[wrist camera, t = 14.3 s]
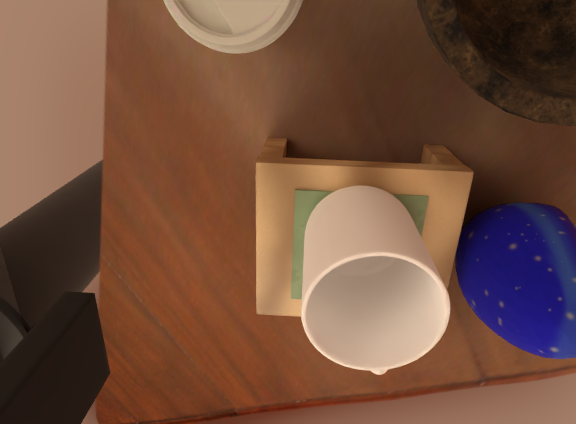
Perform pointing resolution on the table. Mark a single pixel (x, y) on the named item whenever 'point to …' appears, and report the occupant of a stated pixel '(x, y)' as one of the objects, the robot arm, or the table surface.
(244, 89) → the table surface
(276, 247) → the wooden side table
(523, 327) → the ornament
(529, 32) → the bowl
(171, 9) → the coffee cup
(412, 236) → the mug
